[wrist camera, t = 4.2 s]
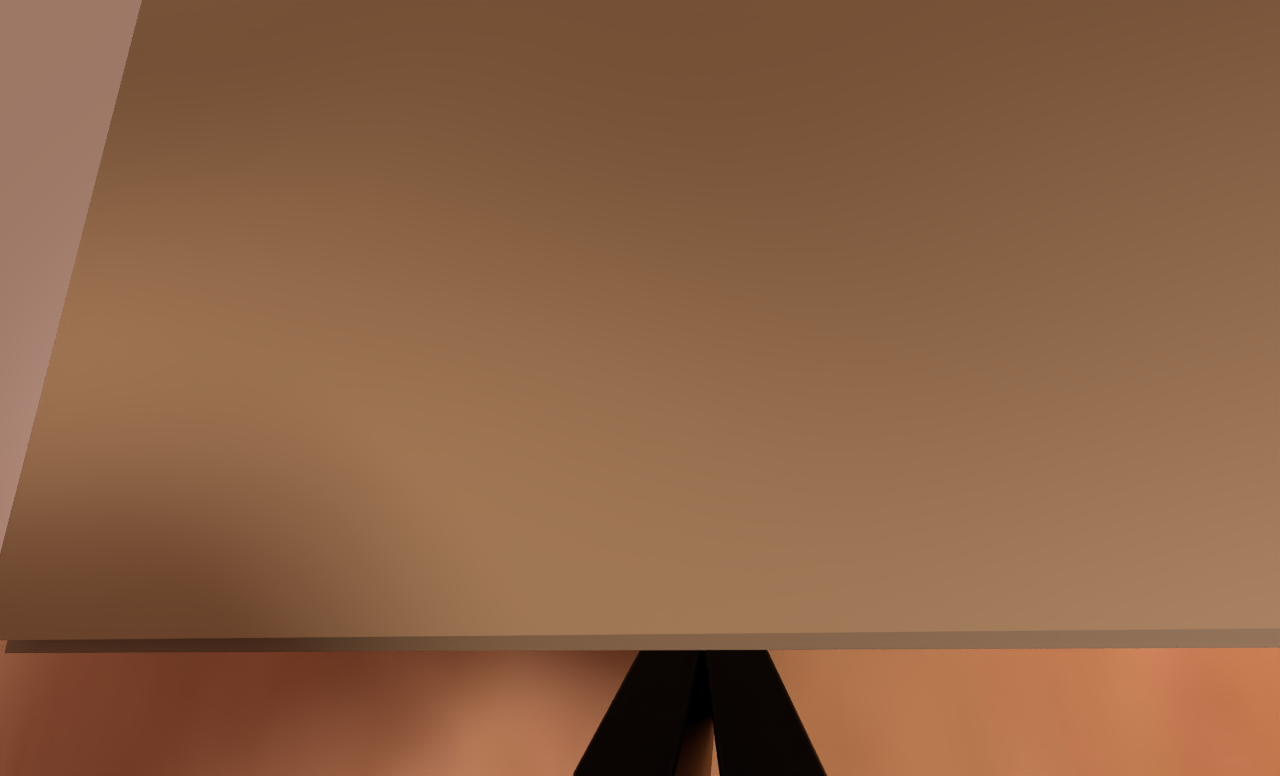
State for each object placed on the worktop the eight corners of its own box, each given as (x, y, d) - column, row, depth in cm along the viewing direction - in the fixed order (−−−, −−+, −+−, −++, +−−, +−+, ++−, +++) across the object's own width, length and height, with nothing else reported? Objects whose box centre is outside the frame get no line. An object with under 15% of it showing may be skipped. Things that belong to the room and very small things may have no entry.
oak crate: (858, 552, 15) (1610, 659, 2) (601, 560, 16) (-44, 660, 3) (824, 307, 17) (1080, -503, 4) (596, 331, 18) (187, -213, 5)
